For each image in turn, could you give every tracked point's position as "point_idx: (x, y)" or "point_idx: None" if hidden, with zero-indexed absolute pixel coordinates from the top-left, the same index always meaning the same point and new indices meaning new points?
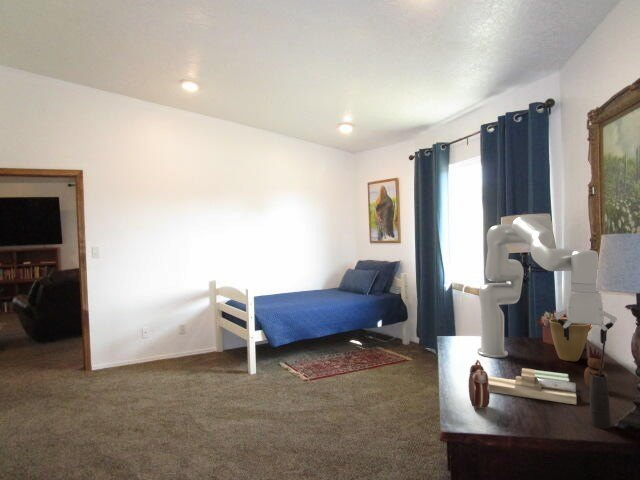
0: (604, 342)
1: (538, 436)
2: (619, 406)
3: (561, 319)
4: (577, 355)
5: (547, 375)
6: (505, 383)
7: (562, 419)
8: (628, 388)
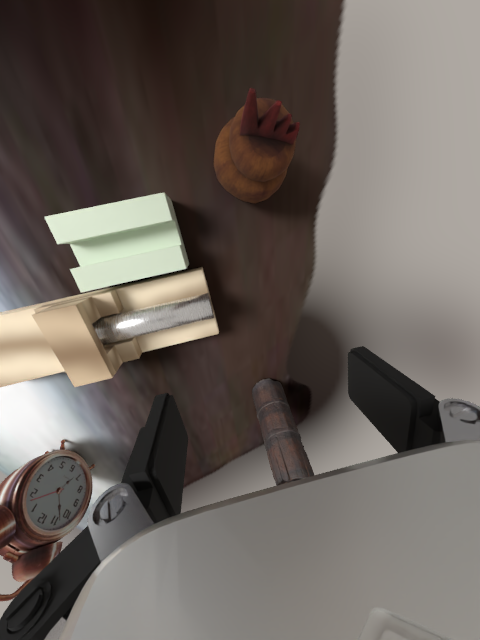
0: None
1: (196, 476)
2: (297, 278)
3: (46, 631)
4: None
5: (108, 234)
6: (39, 351)
7: (210, 408)
8: (326, 90)
